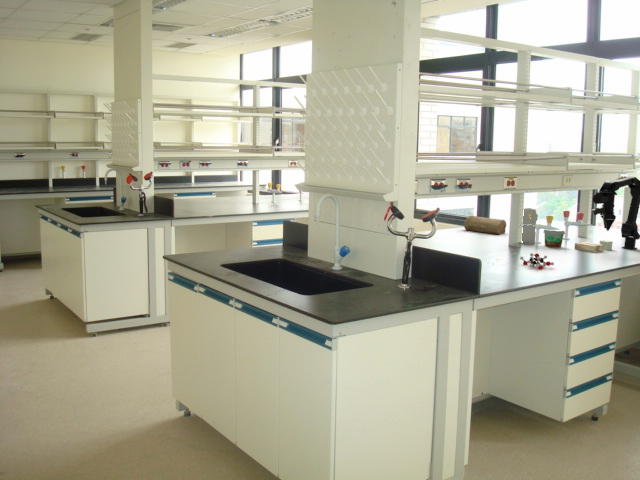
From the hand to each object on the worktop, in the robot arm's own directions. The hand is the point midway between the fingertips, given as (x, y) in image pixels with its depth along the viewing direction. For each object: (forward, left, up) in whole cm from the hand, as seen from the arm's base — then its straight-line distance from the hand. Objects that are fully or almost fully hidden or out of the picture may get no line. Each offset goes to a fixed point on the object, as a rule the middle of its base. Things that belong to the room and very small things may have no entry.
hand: (606, 229), depth 357 cm
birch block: (+7, -6, -13) cm, 16 cm away
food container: (+18, -23, -13) cm, 31 cm away
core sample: (+10, -83, -13) cm, 84 cm away
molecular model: (+77, +12, -13) cm, 79 cm away
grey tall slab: (+23, -38, -13) cm, 46 cm away
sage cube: (-5, -3, -13) cm, 14 cm away
